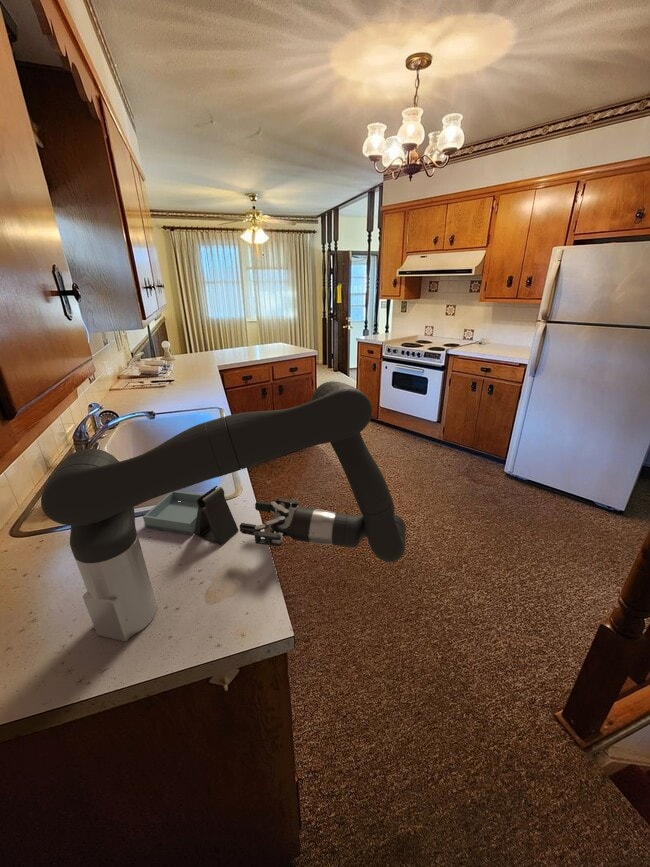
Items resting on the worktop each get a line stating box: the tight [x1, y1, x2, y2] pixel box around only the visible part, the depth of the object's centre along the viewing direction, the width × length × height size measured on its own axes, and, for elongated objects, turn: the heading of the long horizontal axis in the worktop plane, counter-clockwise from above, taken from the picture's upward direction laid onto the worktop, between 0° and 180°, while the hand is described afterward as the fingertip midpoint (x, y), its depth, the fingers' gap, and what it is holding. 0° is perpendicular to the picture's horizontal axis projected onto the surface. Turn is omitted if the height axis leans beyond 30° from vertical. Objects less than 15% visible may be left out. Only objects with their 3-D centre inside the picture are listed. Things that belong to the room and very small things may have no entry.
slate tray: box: [142, 490, 204, 536], centre depth 92 cm, size 12×13×4 cm
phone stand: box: [193, 485, 240, 546], centre depth 84 cm, size 9×6×12 cm, turn 63°
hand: (248, 516), depth 82 cm, fingers open, 8 cm apart
